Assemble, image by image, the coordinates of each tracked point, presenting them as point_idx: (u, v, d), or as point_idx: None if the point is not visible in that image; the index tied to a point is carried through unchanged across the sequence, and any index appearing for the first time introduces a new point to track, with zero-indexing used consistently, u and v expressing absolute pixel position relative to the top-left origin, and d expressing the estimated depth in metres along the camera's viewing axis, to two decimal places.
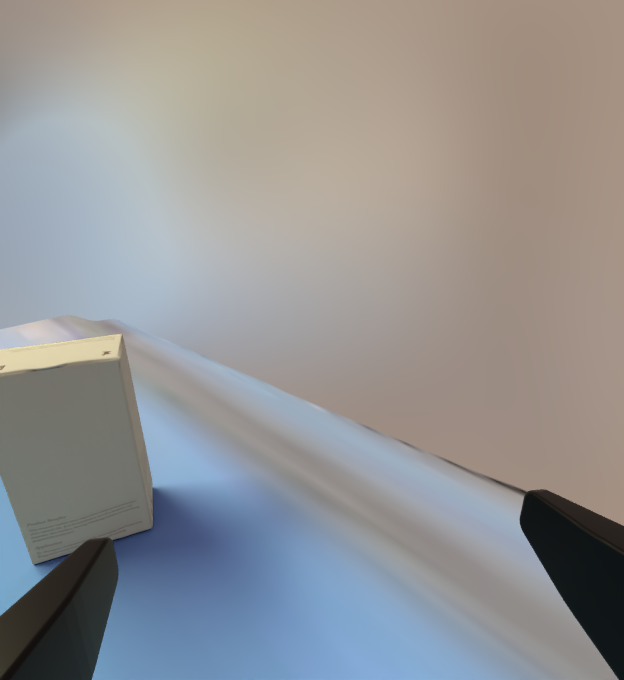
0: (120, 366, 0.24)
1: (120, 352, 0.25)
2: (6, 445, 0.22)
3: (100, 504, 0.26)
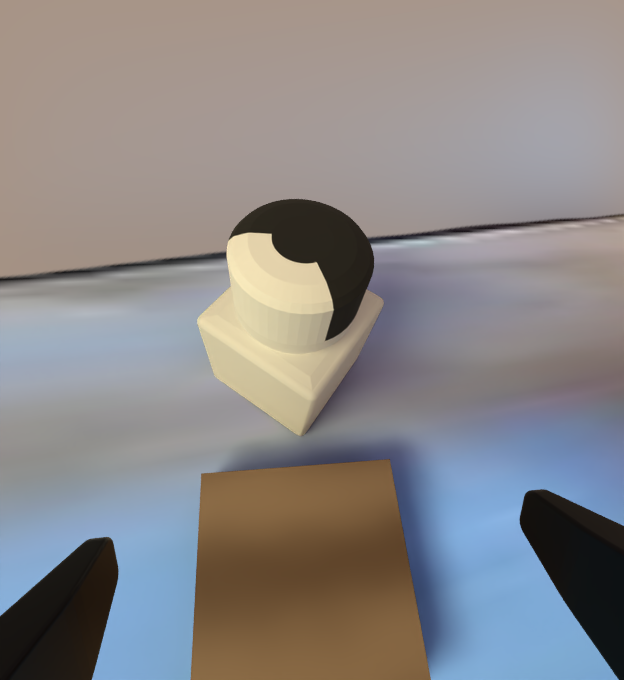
0: None
1: None
2: None
3: None
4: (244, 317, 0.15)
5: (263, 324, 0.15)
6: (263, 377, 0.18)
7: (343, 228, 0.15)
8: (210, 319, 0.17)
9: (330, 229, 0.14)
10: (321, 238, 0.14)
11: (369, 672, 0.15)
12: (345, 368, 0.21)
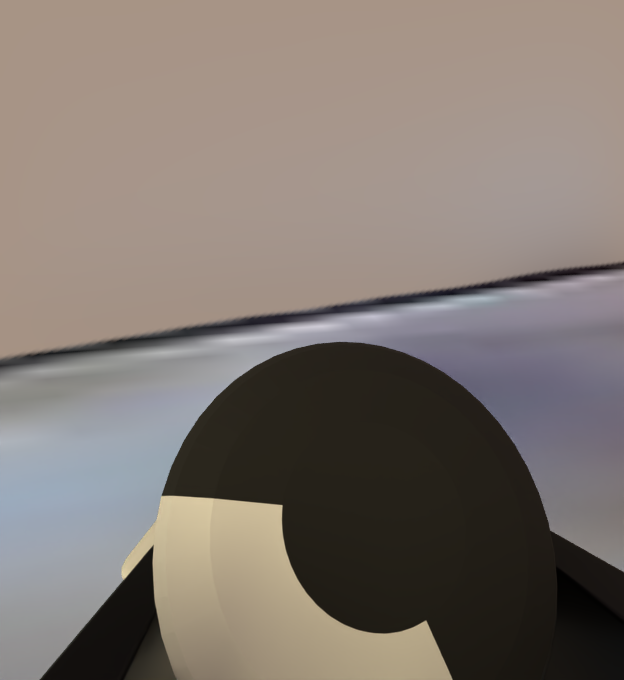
0: None
1: None
2: None
3: None
4: None
5: None
6: None
7: (474, 453, 0.05)
8: None
9: (444, 467, 0.05)
10: (424, 509, 0.05)
11: None
12: None
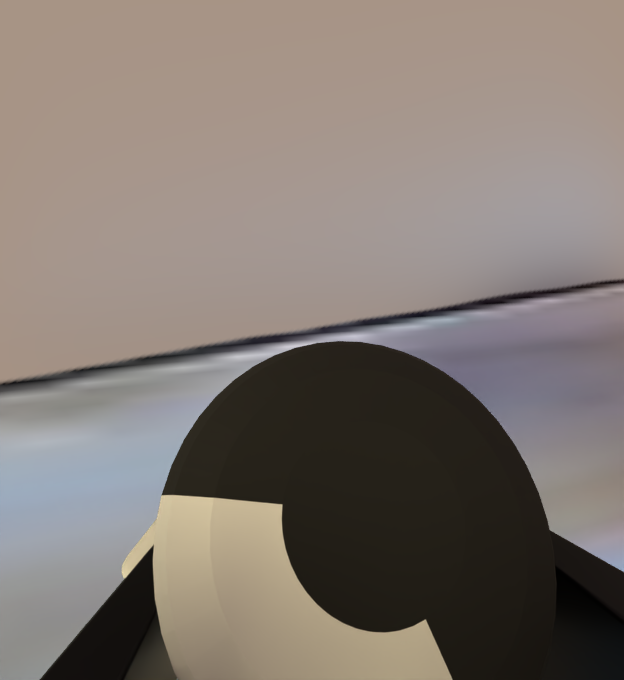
0: None
1: None
2: None
3: None
4: None
5: None
6: None
7: (474, 453, 0.05)
8: None
9: (444, 466, 0.05)
10: (424, 509, 0.05)
11: None
12: None
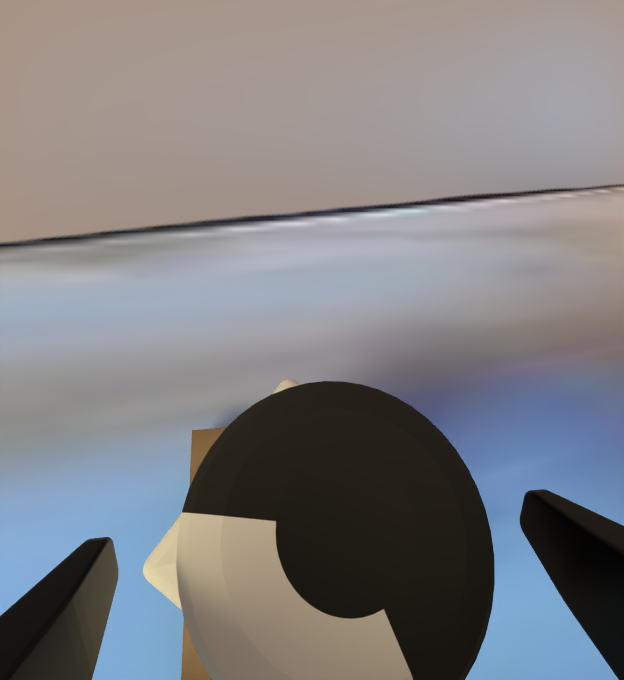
0: None
1: None
2: None
3: None
4: None
5: None
6: None
7: (429, 478, 0.07)
8: (165, 572, 0.10)
9: (403, 490, 0.07)
10: (386, 524, 0.06)
11: None
12: None
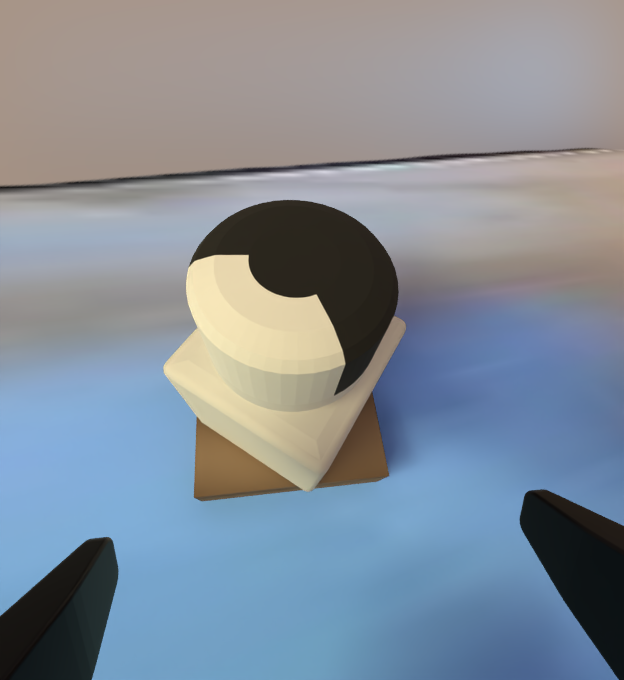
0: None
1: None
2: None
3: None
4: (220, 370, 0.11)
5: (245, 383, 0.10)
6: (254, 438, 0.13)
7: (352, 239, 0.10)
8: (179, 367, 0.13)
9: (333, 242, 0.10)
10: (320, 258, 0.10)
11: None
12: None
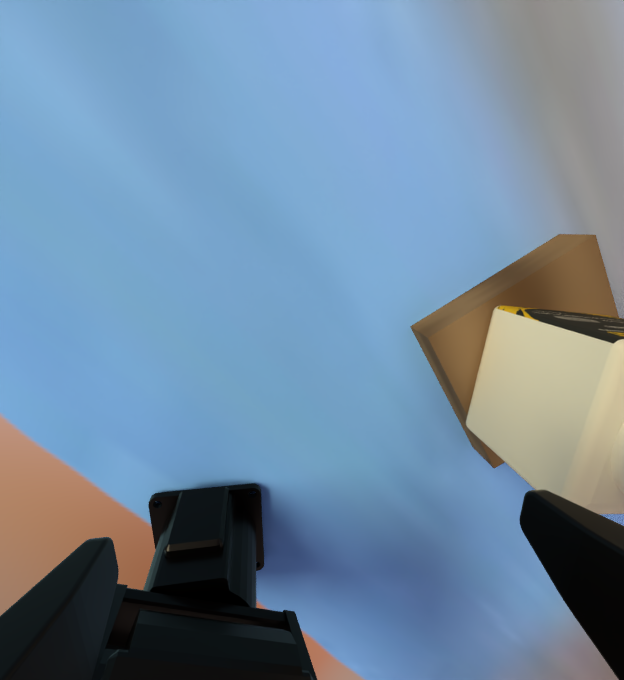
0: None
1: None
2: None
3: None
4: None
5: None
6: (558, 436, 0.14)
7: None
8: None
9: None
10: None
11: None
12: None
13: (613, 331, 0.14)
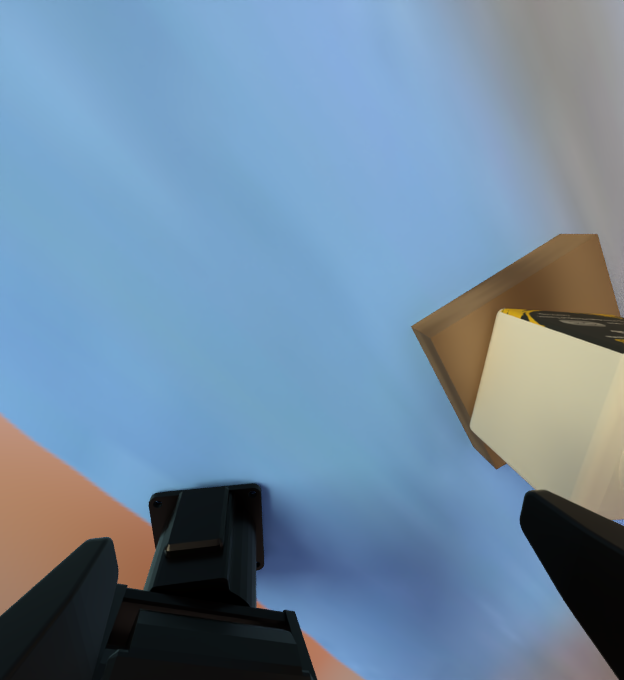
0: None
1: None
2: None
3: None
4: None
5: None
6: (565, 444, 0.14)
7: None
8: None
9: None
10: None
11: None
12: None
13: (621, 338, 0.14)
